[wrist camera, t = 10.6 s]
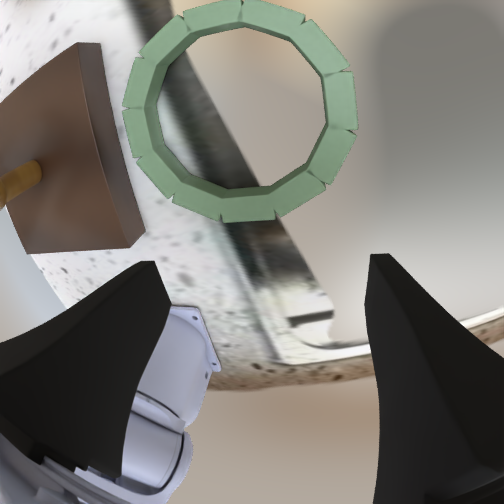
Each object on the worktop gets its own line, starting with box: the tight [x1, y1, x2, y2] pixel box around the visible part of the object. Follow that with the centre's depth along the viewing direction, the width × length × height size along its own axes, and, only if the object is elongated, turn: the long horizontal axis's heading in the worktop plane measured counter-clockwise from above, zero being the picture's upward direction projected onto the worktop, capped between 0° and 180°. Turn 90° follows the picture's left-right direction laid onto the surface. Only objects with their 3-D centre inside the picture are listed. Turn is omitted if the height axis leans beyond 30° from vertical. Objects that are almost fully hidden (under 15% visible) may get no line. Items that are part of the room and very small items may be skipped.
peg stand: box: [0, 42, 145, 254], centre depth 15 cm, size 15×15×8 cm
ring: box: [122, 0, 358, 223], centre depth 14 cm, size 13×13×2 cm
